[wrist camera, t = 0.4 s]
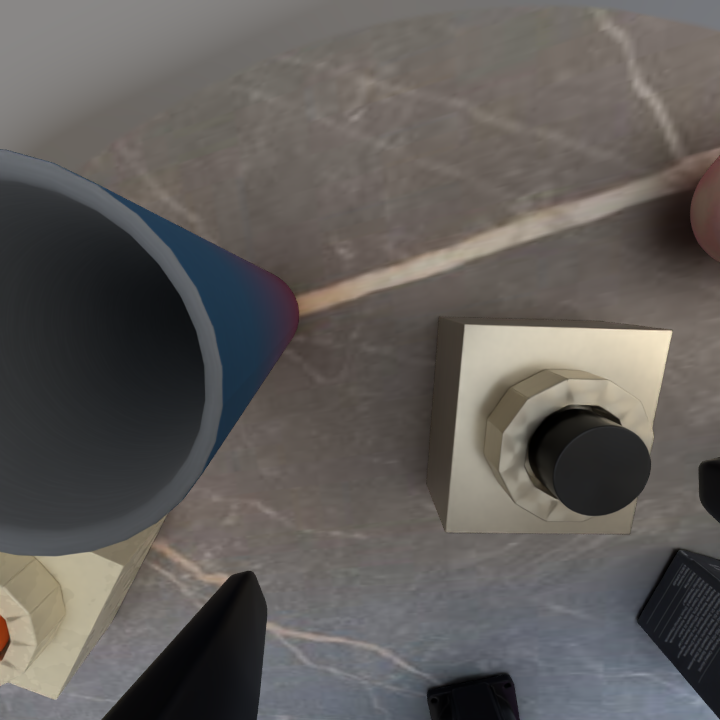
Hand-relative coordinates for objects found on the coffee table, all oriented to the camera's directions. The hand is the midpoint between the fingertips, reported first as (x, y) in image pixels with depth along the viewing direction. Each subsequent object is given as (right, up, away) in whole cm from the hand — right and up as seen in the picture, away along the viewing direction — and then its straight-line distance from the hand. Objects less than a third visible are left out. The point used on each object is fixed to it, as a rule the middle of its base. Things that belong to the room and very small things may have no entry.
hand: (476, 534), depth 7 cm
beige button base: (+7, +1, +15) cm, 17 cm away
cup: (-8, +6, +14) cm, 17 cm away
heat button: (+7, -1, +9) cm, 12 cm away
